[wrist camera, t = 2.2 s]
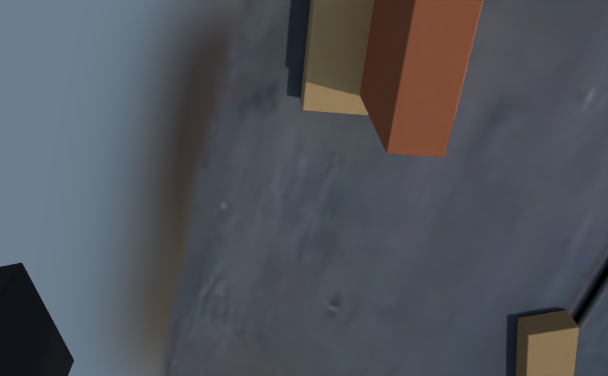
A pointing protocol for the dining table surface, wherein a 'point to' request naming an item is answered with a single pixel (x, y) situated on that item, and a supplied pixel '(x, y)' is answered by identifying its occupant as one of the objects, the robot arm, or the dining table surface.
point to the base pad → (546, 344)
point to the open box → (391, 66)
